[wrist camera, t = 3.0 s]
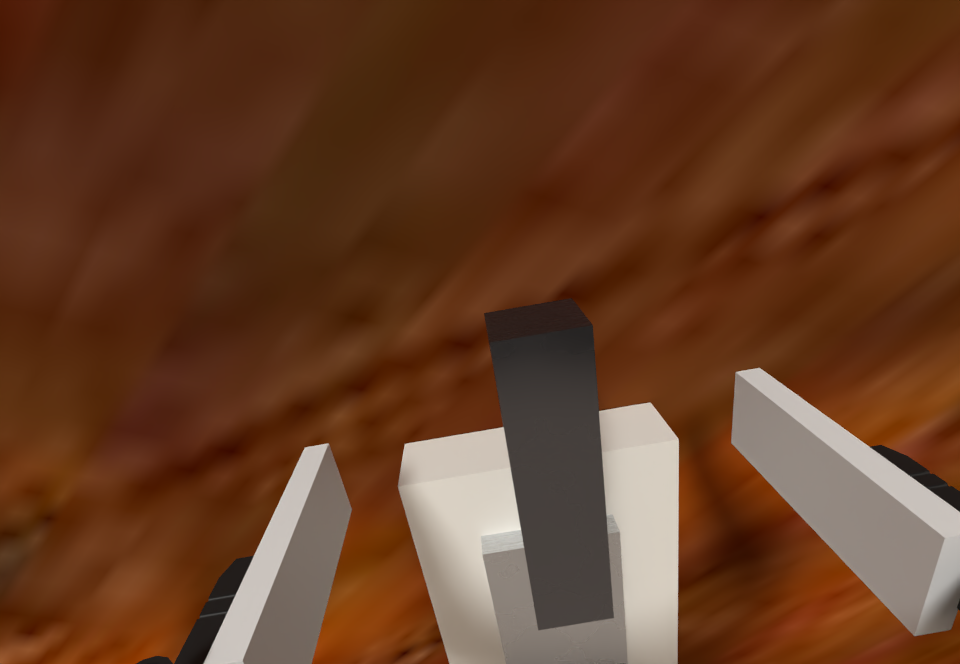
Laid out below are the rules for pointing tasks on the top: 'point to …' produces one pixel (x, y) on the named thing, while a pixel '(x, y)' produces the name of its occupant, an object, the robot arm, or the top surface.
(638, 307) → the top surface
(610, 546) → the dark gray bar
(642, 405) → the board
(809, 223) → the top surface
